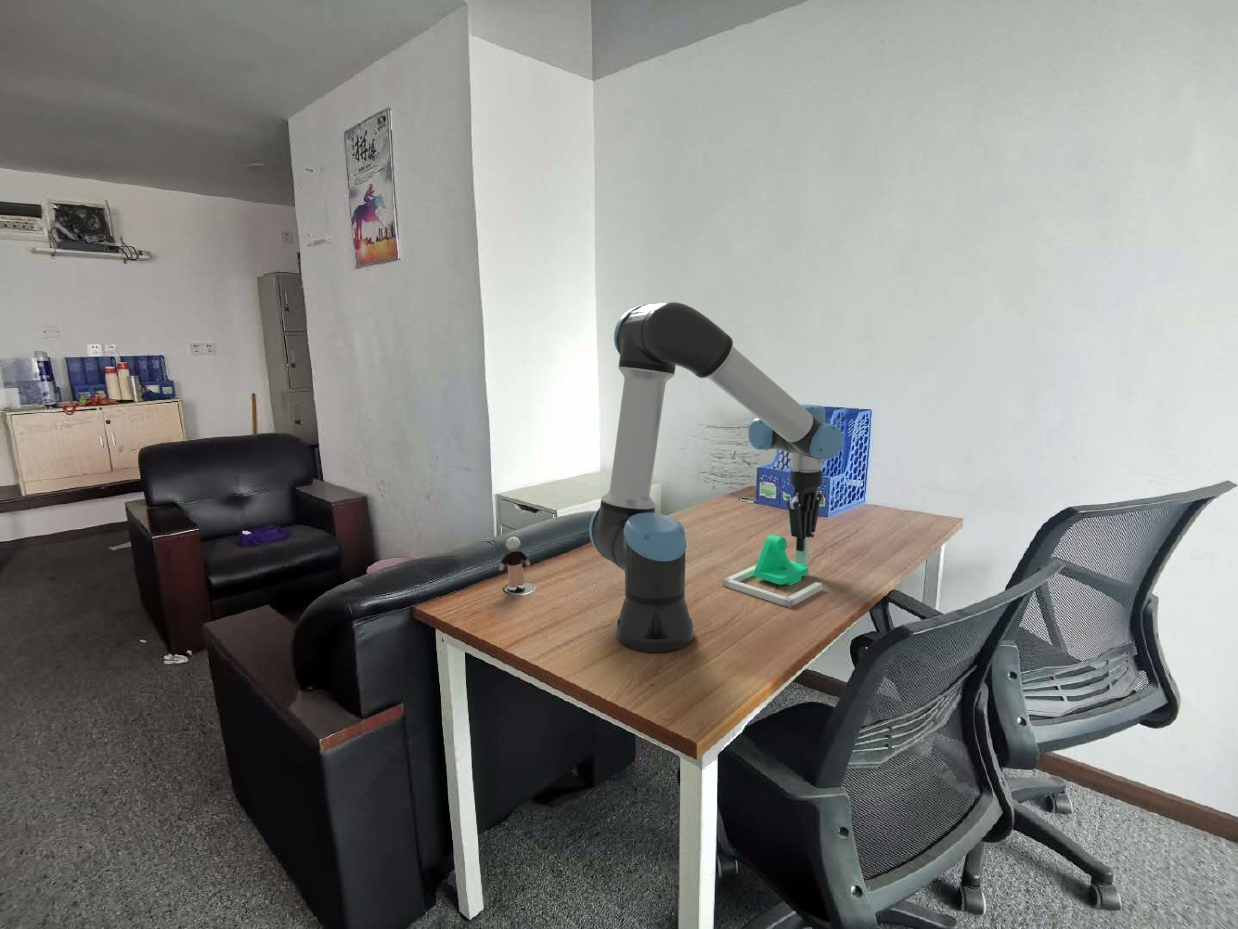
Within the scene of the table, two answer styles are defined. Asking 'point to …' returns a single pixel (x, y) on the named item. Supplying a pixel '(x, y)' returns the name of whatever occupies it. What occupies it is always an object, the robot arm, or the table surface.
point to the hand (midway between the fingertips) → (801, 562)
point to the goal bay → (789, 601)
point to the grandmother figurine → (514, 562)
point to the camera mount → (778, 563)
